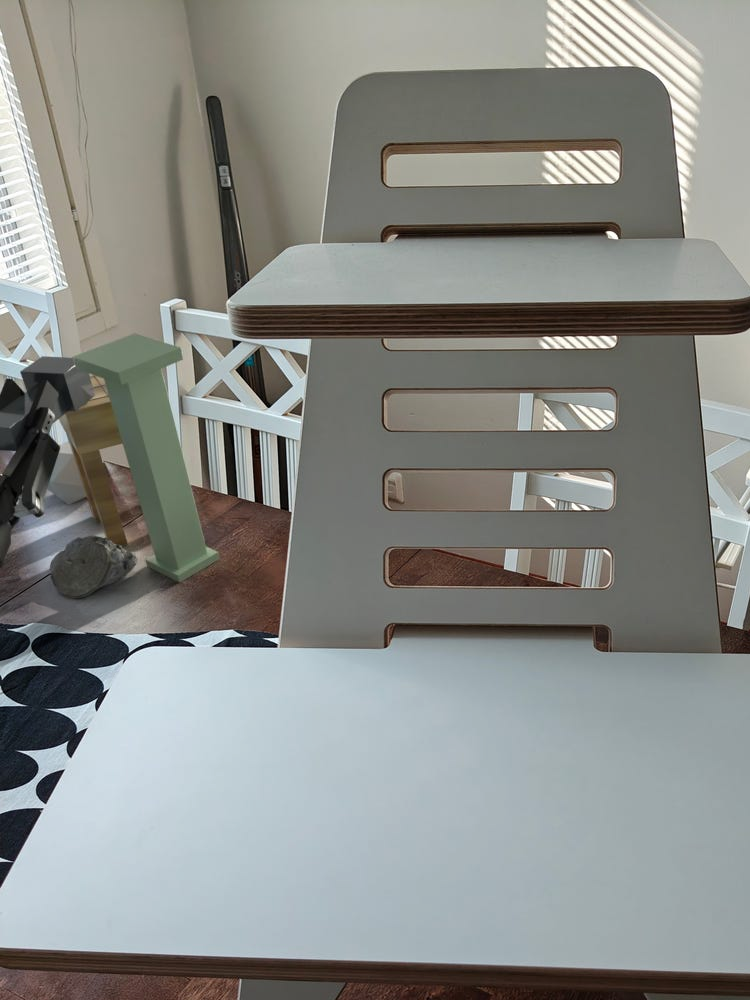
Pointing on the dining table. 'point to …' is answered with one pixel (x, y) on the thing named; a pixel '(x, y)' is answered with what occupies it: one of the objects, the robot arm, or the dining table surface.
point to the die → (66, 477)
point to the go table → (96, 456)
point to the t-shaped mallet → (59, 371)
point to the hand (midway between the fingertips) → (32, 386)
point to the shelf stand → (152, 449)
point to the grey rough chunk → (89, 565)
